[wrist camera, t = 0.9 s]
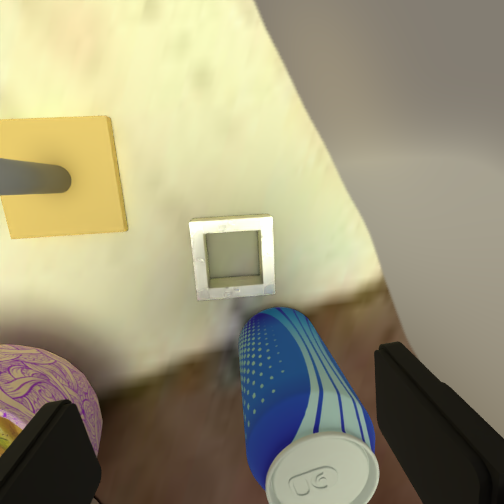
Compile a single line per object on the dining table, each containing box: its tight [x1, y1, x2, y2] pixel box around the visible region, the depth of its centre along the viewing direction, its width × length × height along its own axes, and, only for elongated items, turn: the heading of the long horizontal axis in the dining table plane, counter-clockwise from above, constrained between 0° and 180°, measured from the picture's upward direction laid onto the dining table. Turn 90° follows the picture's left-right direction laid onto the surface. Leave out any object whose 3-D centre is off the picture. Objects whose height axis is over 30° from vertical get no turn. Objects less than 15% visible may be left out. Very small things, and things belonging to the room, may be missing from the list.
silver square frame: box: [189, 214, 275, 301], centre depth 27 cm, size 7×7×3 cm
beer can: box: [238, 307, 379, 504], centre depth 24 cm, size 8×8×16 cm
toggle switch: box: [0, 116, 128, 239], centre depth 21 cm, size 10×10×10 cm
